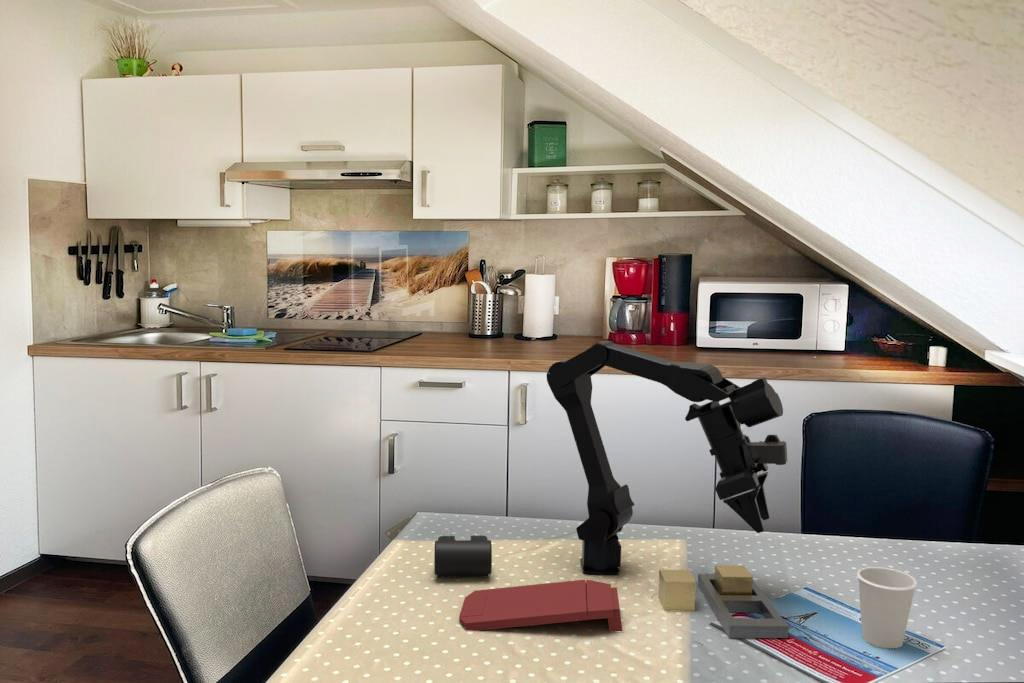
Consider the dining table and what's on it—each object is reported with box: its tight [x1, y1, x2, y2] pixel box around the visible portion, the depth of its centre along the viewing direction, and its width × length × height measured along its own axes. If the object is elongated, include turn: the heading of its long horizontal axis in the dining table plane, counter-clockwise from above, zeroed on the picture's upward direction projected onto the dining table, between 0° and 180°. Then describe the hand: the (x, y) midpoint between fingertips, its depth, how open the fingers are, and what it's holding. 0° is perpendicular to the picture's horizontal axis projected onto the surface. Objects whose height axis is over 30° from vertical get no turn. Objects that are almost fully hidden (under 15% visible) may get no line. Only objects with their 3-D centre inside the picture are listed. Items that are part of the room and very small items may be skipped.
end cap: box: [433, 534, 493, 578], centre depth 147 cm, size 10×7×7 cm
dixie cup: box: [856, 566, 918, 650], centre depth 125 cm, size 8×8×10 cm
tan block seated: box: [714, 564, 754, 596], centre depth 139 cm, size 5×5×5 cm
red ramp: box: [458, 578, 623, 632], centre depth 132 cm, size 12×5×25 cm
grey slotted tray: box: [697, 573, 789, 640], centre depth 135 cm, size 9×20×2 cm, turn 1°
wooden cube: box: [657, 569, 697, 612], centre depth 137 cm, size 5×5×5 cm
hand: (763, 525), depth 135 cm, fingers open, 9 cm apart
